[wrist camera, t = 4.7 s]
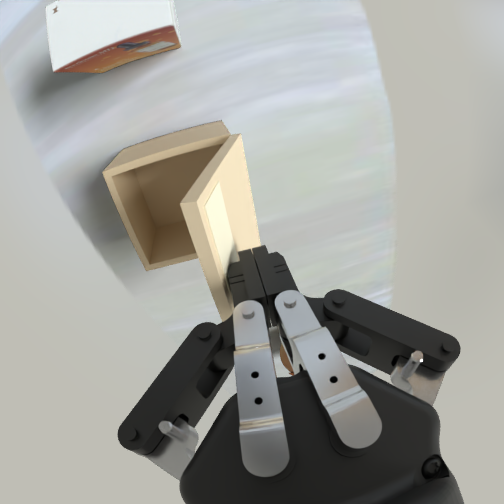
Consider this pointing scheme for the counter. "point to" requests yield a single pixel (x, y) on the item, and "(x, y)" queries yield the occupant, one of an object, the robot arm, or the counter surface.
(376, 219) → the counter surface
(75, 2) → the small box
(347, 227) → the counter surface
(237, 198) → the lid
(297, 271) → the counter surface
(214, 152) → the carton
